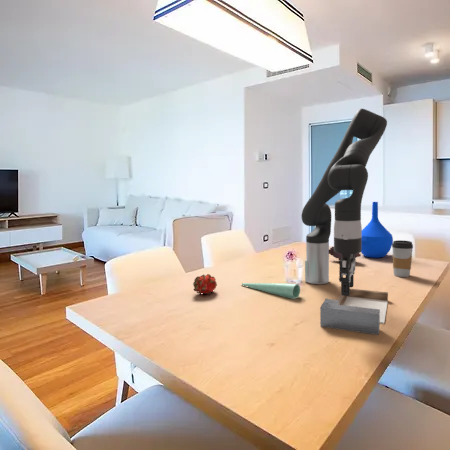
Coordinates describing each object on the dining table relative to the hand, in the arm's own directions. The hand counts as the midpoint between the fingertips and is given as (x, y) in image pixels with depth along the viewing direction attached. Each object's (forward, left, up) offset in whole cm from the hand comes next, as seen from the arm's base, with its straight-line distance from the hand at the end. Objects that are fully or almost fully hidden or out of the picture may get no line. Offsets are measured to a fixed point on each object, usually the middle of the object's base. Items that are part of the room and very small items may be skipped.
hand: (347, 291), depth 106 cm
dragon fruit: (-55, +14, -11) cm, 58 cm away
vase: (0, +105, -11) cm, 106 cm away
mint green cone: (-34, +25, -12) cm, 43 cm away
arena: (+2, +18, -11) cm, 21 cm away
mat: (+3, +18, -11) cm, 21 cm away
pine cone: (-13, +86, -11) cm, 88 cm away
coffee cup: (+14, +67, -11) cm, 69 cm away
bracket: (+1, +2, -11) cm, 11 cm away
